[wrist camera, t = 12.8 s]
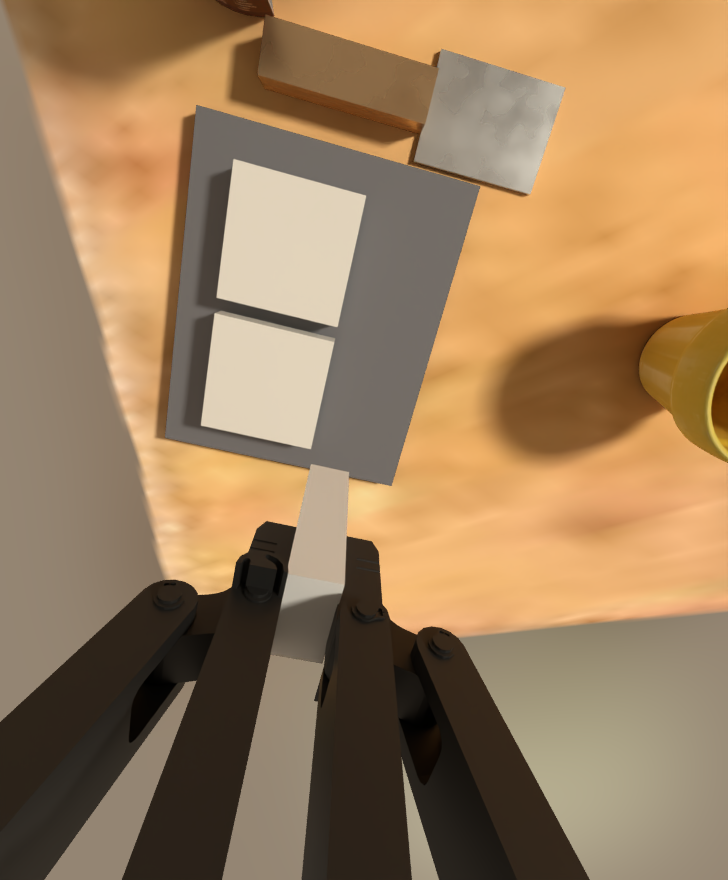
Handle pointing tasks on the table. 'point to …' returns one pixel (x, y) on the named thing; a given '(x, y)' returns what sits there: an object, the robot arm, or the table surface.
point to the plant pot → (692, 377)
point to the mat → (365, 302)
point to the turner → (421, 100)
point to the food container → (250, 7)
